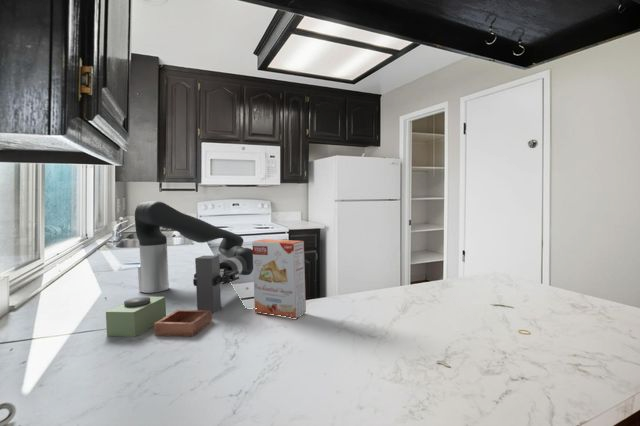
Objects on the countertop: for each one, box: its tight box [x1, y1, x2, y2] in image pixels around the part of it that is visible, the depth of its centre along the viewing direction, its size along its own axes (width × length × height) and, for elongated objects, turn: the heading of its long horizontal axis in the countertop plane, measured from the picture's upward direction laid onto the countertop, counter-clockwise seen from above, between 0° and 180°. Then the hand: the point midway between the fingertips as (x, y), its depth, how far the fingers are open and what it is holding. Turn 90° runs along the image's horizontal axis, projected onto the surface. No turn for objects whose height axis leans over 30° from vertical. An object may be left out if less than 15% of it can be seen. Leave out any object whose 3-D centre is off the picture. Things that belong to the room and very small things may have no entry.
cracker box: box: [252, 238, 307, 319], centre depth 95 cm, size 14×6×21 cm, turn 62°
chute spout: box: [194, 255, 222, 314], centre depth 100 cm, size 5×5×16 cm
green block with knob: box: [105, 296, 167, 338], centre depth 89 cm, size 8×13×7 cm, turn 172°
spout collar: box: [153, 309, 213, 337], centre depth 86 cm, size 10×10×3 cm
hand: (204, 282), depth 97 cm, fingers closed on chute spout, 5 cm apart
